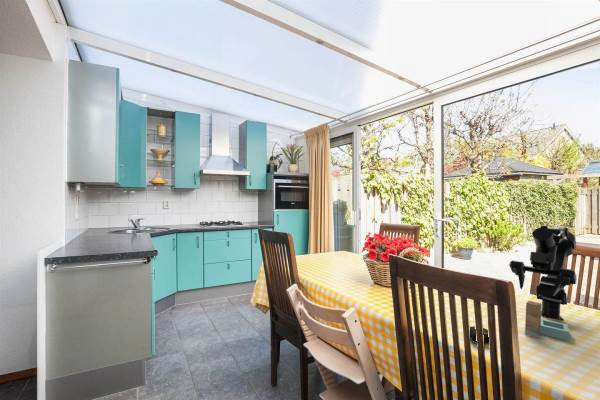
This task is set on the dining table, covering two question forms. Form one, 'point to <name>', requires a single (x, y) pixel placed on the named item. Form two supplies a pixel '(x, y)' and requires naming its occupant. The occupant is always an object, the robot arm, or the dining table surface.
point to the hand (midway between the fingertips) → (536, 291)
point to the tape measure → (473, 335)
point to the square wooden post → (533, 319)
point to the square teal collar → (554, 329)
